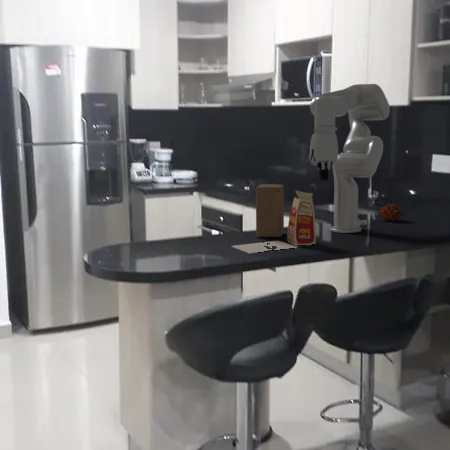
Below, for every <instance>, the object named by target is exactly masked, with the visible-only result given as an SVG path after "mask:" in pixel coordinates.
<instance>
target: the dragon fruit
mask: <svg viewBox="0 0 450 450" xmlns="http://www.w3.org/2000/svg"><path fill="white" fill-rule="evenodd" d="M403 215H404V214H403V211H402V209H401V207H400V206H399V205H397V204H396V203H387V205H383V206H382V207H381V208H380V209H379V210H378V216H379V217H380V218H382V219H384V221H385V222H389V221H390V222H396V221H397V220H400V219H401V218H402V216H403Z"/></svg>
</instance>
